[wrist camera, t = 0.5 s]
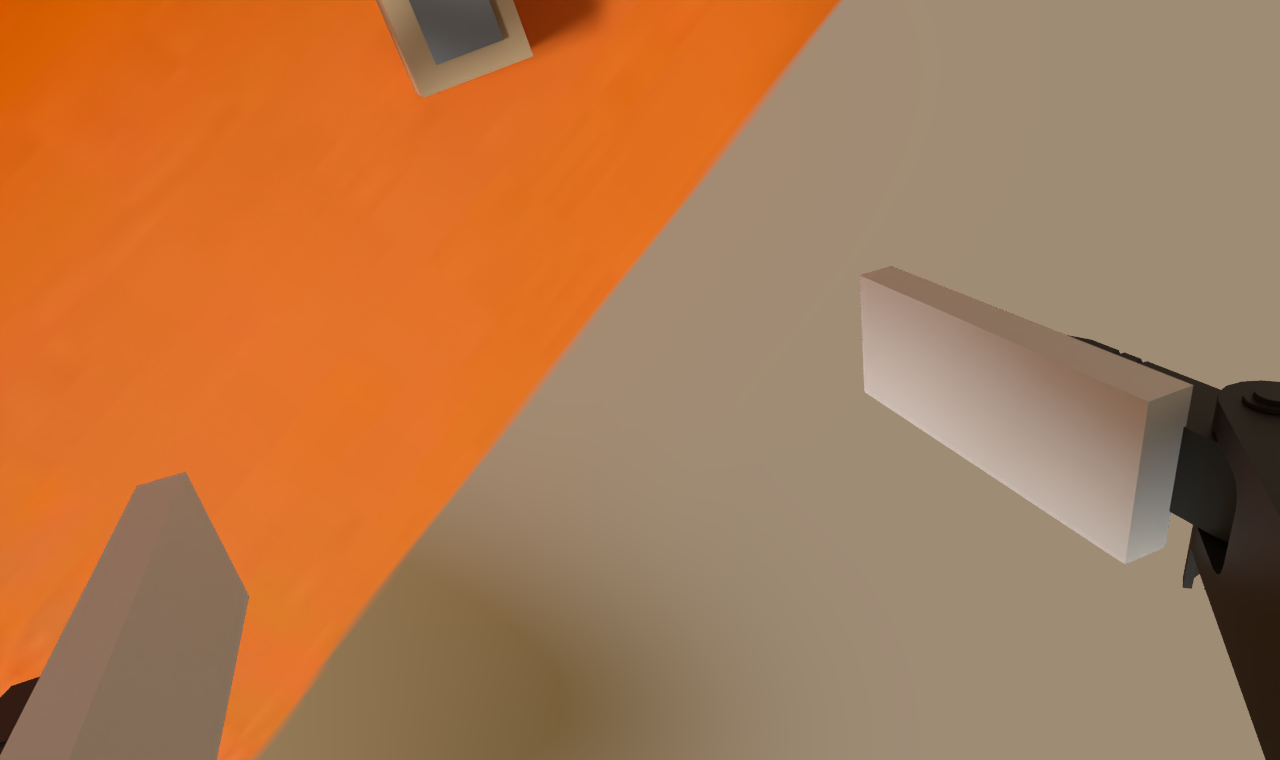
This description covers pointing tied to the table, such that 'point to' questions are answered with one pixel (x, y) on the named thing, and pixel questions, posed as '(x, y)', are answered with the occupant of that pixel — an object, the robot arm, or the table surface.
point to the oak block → (454, 39)
